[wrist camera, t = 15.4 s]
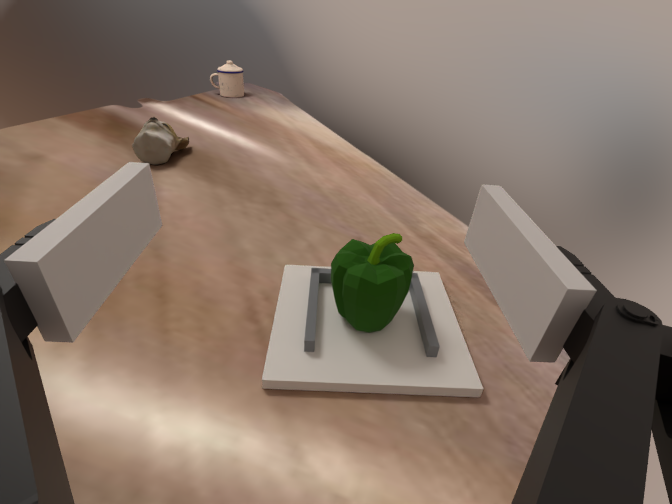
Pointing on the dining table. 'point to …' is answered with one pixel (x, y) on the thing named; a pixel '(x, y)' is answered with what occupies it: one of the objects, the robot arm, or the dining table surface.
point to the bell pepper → (371, 282)
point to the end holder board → (367, 342)
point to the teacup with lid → (230, 80)
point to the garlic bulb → (157, 142)
